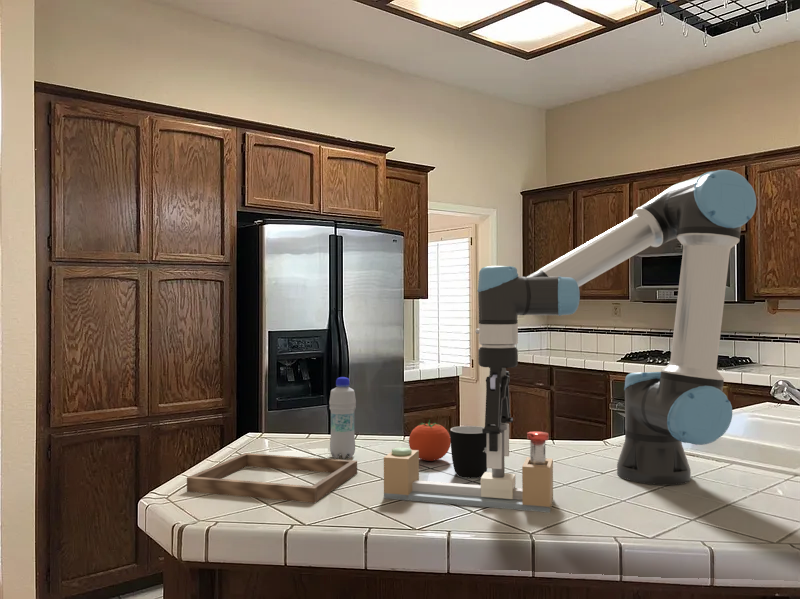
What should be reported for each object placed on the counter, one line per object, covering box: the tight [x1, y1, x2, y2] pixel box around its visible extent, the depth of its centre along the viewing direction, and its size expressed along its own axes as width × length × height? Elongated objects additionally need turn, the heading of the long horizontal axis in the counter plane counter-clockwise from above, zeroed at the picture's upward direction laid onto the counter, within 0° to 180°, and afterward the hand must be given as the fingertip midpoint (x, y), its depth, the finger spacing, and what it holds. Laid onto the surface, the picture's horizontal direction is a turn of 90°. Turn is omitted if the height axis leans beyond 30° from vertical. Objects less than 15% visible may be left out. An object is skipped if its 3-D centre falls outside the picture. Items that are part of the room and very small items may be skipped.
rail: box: [383, 447, 554, 513], centre depth 130 cm, size 32×8×9 cm, turn 73°
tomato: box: [408, 419, 451, 462], centre depth 162 cm, size 10×10×10 cm
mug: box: [449, 425, 488, 479], centre depth 150 cm, size 12×9×10 cm
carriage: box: [480, 423, 517, 499], centre depth 128 cm, size 6×5×14 cm
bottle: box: [328, 376, 357, 460], centre depth 166 cm, size 7×7×20 cm
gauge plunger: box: [526, 431, 550, 465], centre depth 126 cm, size 4×4×9 cm
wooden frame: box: [186, 452, 358, 504], centre depth 143 cm, size 28×23×3 cm
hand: (498, 461), depth 128 cm, fingers open, 10 cm apart
